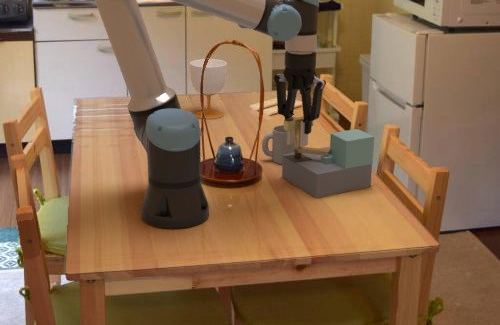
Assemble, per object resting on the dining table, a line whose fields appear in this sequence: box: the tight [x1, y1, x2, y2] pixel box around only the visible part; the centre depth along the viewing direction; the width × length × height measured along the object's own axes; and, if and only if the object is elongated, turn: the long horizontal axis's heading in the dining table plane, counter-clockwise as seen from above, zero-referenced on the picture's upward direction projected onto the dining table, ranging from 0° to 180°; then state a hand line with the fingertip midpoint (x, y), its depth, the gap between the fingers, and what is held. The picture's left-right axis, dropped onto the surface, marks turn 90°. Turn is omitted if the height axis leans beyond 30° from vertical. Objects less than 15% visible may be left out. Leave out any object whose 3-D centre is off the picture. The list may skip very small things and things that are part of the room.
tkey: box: [283, 116, 330, 158], centre depth 198 cm, size 10×8×10 cm
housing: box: [281, 146, 373, 199], centre depth 202 cm, size 16×16×6 cm
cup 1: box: [189, 58, 228, 120], centre depth 256 cm, size 12×12×17 cm
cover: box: [321, 128, 375, 169], centre depth 198 cm, size 10×7×7 cm, turn 118°
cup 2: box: [261, 124, 294, 165], centre depth 217 cm, size 7×10×9 cm
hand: (297, 144), depth 201 cm, fingers closed on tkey, 3 cm apart
